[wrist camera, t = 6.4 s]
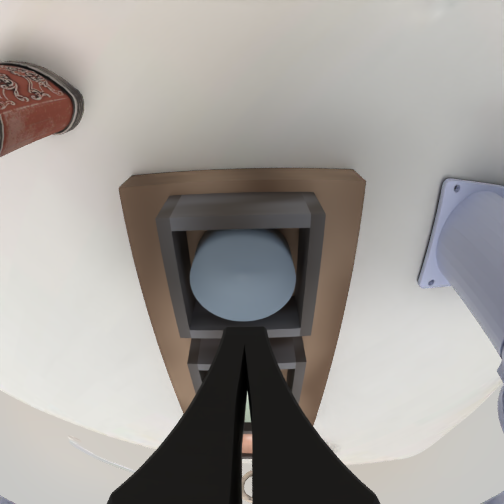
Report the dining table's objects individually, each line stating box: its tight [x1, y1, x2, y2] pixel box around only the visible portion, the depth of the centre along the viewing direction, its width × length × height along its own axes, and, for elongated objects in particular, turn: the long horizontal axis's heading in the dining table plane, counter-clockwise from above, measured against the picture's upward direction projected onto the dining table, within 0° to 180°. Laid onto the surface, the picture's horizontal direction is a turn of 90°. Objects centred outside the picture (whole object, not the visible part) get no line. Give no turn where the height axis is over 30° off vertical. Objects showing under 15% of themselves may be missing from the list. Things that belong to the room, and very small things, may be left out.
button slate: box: [190, 228, 296, 321], centre depth 15 cm, size 5×5×2 cm
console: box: [119, 168, 366, 459], centre depth 20 cm, size 12×26×5 cm, turn 1°
